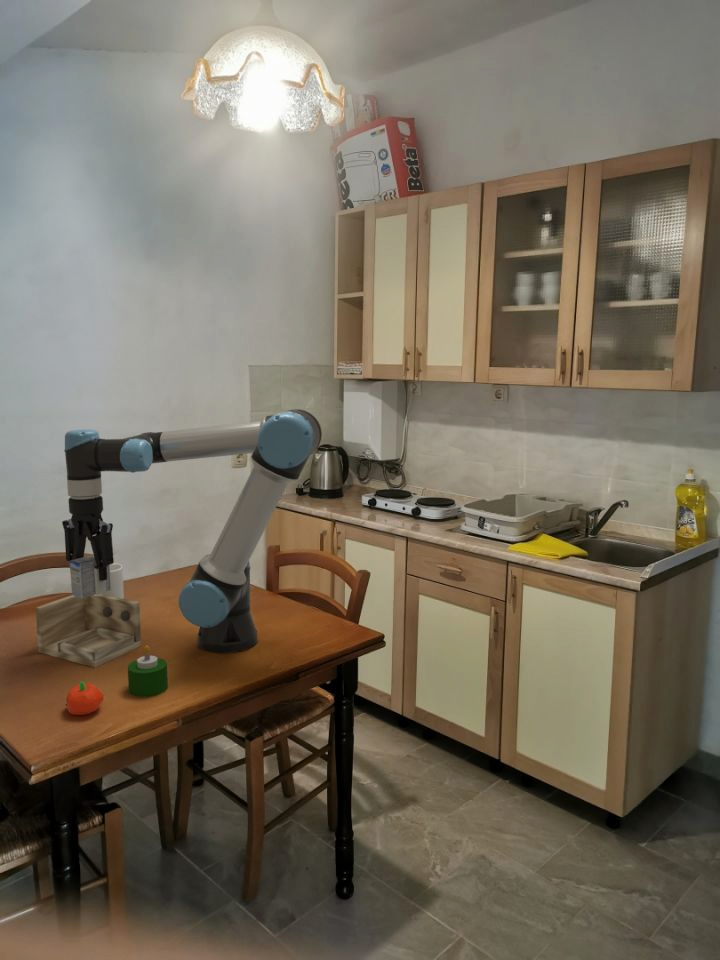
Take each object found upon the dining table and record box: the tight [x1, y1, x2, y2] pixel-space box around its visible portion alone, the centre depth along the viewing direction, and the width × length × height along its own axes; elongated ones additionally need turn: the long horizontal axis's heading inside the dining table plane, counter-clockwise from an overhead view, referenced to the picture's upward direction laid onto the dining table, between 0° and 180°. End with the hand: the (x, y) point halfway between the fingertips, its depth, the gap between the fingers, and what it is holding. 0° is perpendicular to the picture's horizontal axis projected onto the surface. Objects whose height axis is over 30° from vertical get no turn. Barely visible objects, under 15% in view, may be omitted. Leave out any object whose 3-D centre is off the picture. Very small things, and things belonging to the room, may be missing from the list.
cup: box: [102, 563, 125, 599], centre depth 200 cm, size 8×8×16 cm
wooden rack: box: [35, 594, 142, 668], centre depth 183 cm, size 19×15×12 cm
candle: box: [127, 645, 169, 698], centre depth 162 cm, size 8×8×10 cm
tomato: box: [65, 680, 104, 716], centre depth 151 cm, size 7×8×6 cm
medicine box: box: [69, 554, 111, 598], centre depth 176 cm, size 8×4×9 cm, turn 144°
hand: (91, 591), depth 177 cm, fingers closed on medicine box, 5 cm apart
